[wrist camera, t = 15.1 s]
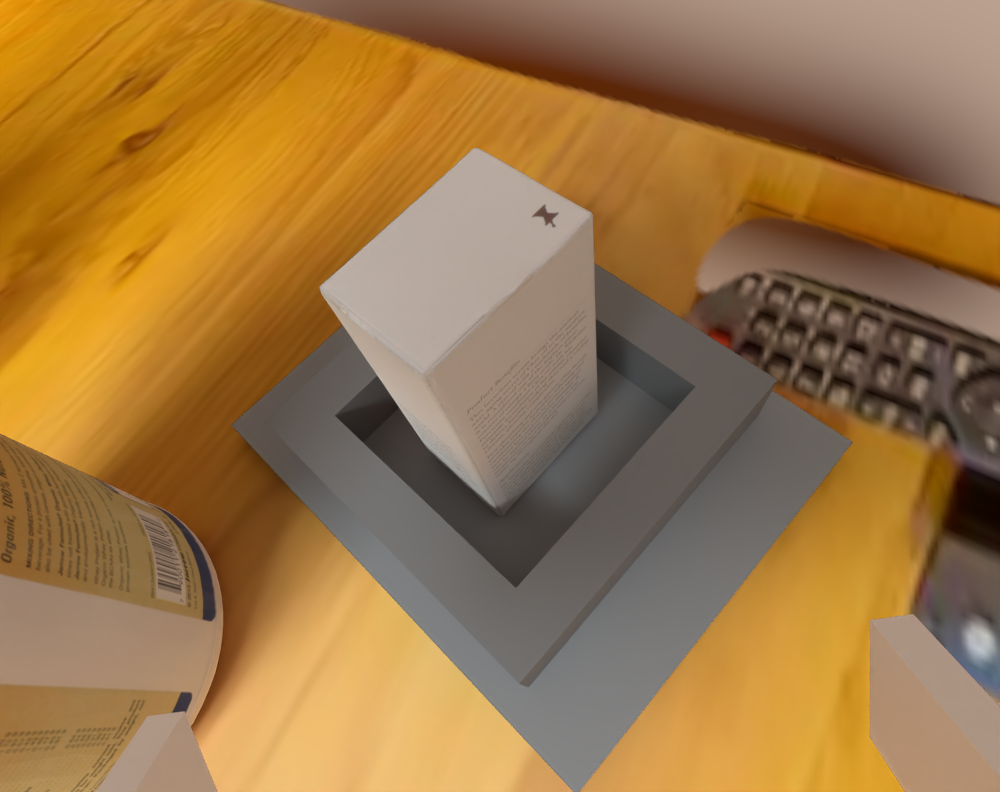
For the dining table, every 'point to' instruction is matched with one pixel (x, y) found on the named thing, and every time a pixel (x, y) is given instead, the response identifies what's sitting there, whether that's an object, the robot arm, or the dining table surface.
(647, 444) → the slate stand
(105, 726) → the supplement tub
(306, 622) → the dining table surface
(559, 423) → the skincare box
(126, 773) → the robot arm
